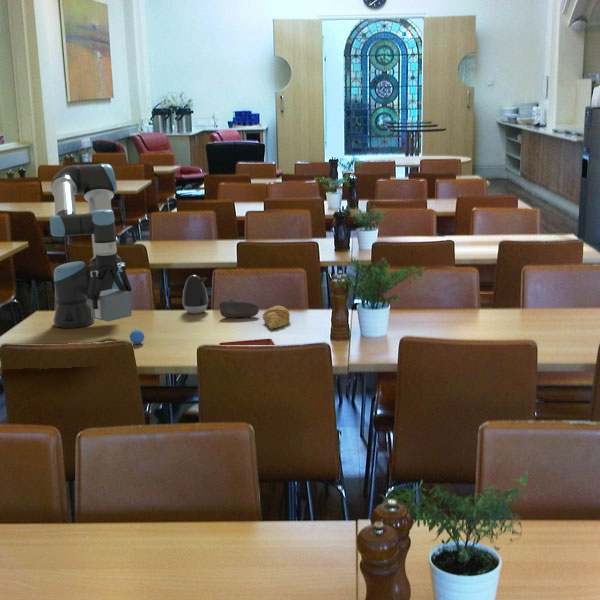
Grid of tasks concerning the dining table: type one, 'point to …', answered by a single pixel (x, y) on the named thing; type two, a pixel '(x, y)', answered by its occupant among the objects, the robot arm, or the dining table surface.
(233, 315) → the perforated stone tool
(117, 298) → the matte grey cube
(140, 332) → the ball
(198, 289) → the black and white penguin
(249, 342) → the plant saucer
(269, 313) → the croissant
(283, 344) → the dining table surface
